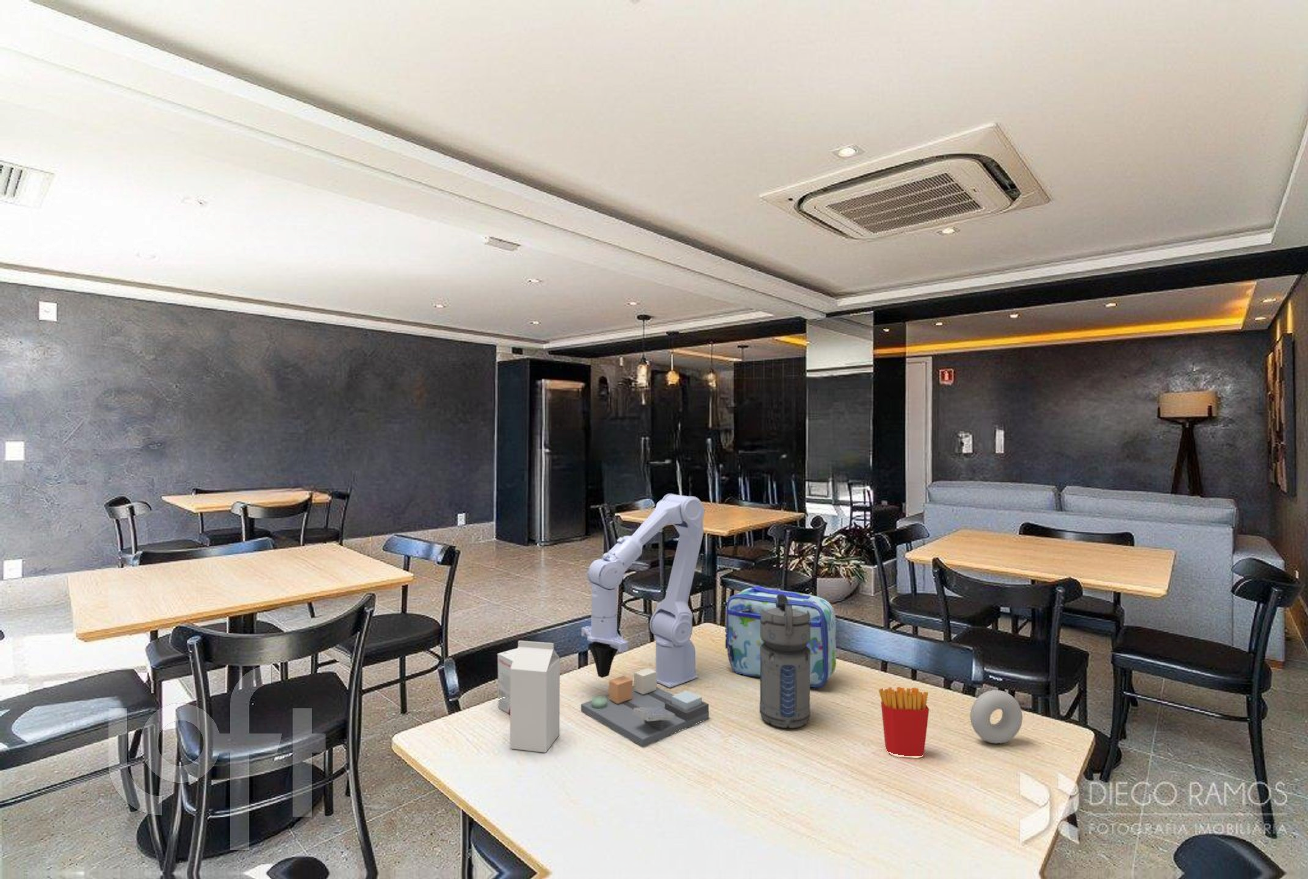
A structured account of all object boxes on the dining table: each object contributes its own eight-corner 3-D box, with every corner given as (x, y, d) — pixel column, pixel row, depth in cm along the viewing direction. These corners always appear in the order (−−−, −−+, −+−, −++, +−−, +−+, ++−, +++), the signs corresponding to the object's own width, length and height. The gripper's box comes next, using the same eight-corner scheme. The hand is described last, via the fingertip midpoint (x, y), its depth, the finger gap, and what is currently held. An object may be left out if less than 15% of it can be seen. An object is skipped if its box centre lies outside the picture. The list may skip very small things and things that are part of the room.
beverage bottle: (803, 704, 132) (803, 589, 132) (814, 734, 119) (815, 606, 119) (756, 702, 133) (756, 588, 133) (762, 732, 120) (763, 605, 120)
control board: (645, 688, 141) (645, 674, 141) (709, 718, 126) (709, 703, 126) (581, 711, 129) (581, 696, 129) (643, 747, 114) (643, 730, 114)
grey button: (686, 697, 129) (686, 690, 129) (701, 704, 125) (701, 697, 125) (671, 703, 126) (671, 696, 126) (686, 711, 122) (686, 703, 122)
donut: (977, 748, 114) (977, 695, 114) (965, 739, 117) (966, 687, 117) (1026, 746, 115) (1027, 693, 115) (1014, 737, 119) (1014, 685, 118)
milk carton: (546, 753, 111) (546, 649, 111) (509, 749, 113) (510, 647, 113) (559, 735, 118) (560, 637, 118) (525, 731, 120) (525, 634, 120)
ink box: (539, 714, 127) (539, 657, 127) (518, 721, 124) (518, 663, 124) (517, 700, 134) (517, 647, 134) (496, 707, 130) (496, 652, 130)
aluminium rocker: (658, 711, 123) (659, 706, 123) (673, 719, 119) (674, 713, 120) (632, 713, 118) (633, 707, 118) (647, 721, 115) (648, 715, 115)
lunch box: (720, 672, 150) (720, 587, 150) (738, 659, 159) (738, 579, 159) (825, 696, 136) (826, 603, 136) (838, 680, 146) (839, 593, 146)
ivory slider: (647, 685, 138) (647, 667, 138) (656, 689, 135) (656, 671, 135) (634, 690, 135) (634, 672, 135) (642, 694, 133) (643, 676, 133)
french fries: (923, 748, 114) (924, 684, 114) (930, 759, 110) (931, 693, 110) (876, 745, 115) (877, 682, 115) (881, 756, 111) (882, 690, 111)
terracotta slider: (623, 694, 133) (623, 675, 133) (632, 698, 131) (632, 679, 131) (608, 699, 130) (609, 680, 130) (617, 703, 128) (617, 684, 128)
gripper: (570, 610, 138) (569, 670, 138) (609, 625, 127) (609, 690, 127) (595, 605, 142) (595, 663, 142) (635, 619, 132) (635, 682, 132)
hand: (603, 675), depth 135 cm, fingers closed
